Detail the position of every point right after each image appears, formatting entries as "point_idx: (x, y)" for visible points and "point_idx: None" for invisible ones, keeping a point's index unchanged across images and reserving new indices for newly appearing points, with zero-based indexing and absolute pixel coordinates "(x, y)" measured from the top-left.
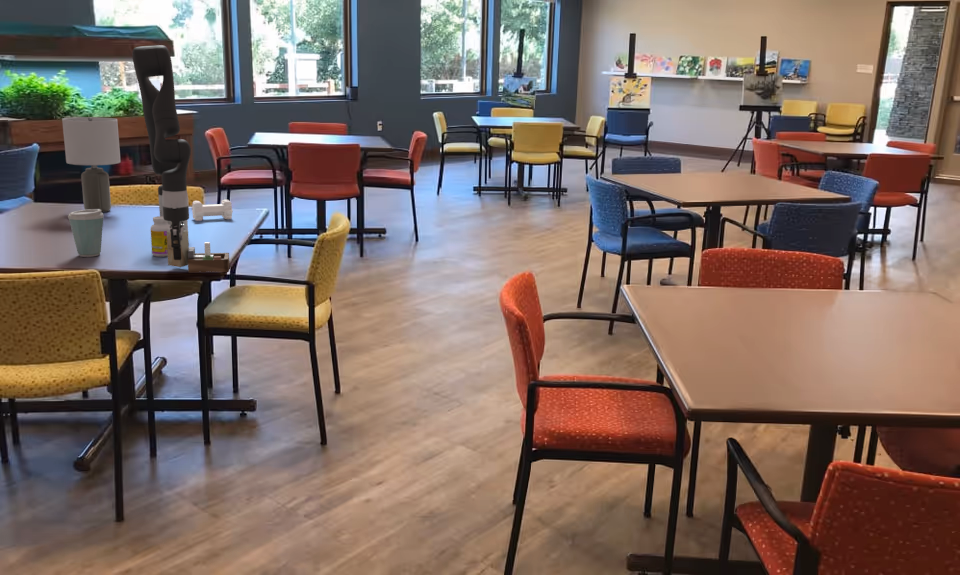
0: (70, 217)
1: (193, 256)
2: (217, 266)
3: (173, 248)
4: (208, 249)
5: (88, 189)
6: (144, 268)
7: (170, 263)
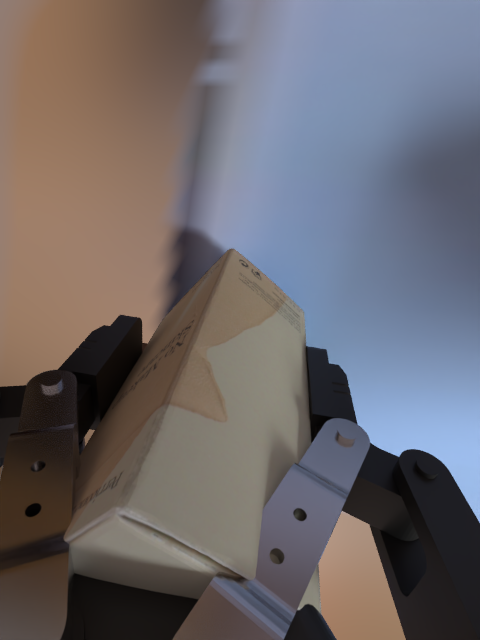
0: None
1: None
2: None
3: (74, 373)
4: None
5: None
6: (330, 29)
7: (211, 270)
